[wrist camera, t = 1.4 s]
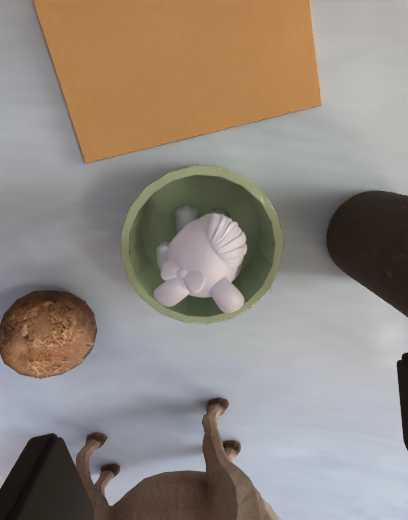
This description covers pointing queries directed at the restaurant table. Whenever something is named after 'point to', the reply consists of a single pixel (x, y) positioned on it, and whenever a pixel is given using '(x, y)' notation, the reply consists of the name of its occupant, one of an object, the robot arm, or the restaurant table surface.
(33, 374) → the mushroom
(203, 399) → the restaurant table surface
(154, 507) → the toy
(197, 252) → the toy figurine
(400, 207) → the container
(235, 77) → the mat
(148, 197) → the green bowl
